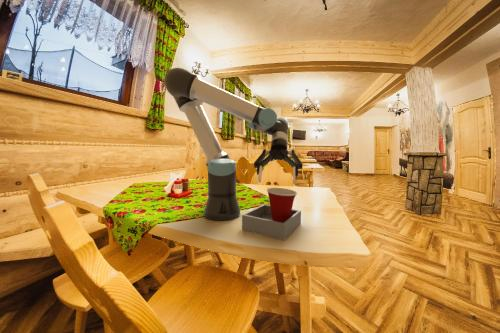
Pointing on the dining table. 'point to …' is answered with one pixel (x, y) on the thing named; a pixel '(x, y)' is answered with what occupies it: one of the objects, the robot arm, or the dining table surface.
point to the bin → (270, 222)
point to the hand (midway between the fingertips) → (276, 181)
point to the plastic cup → (281, 203)
